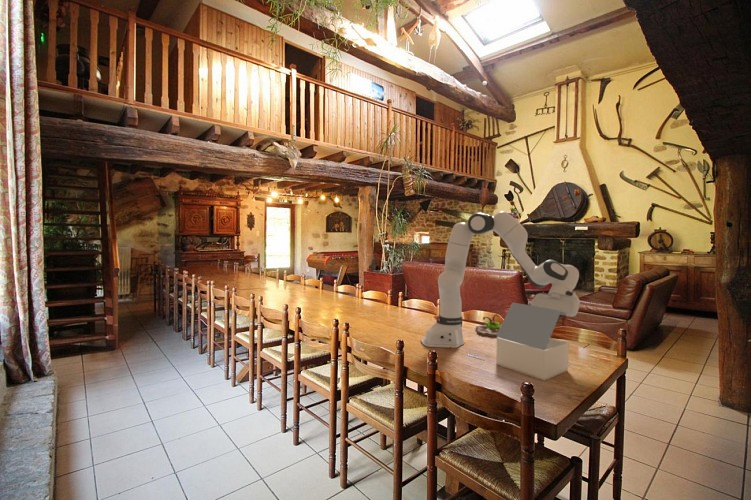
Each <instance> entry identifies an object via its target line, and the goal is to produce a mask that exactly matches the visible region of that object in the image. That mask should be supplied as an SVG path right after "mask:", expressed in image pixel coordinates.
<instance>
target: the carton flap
mask: <svg viewBox="0 0 751 500" xmlns="http://www.w3.org/2000/svg"><path fill="white" fill-rule="evenodd" d="M560 313H561V311H559V310H553V309H547V308H542V307H536V306H531V304H530V305H529V304H525V303H524V304H523V303H517V302H513V301H512V303H511V304H510V307H509V309H508V311H507V313H506V315H505V316H504V319H503V322H502V325H501V324H500V325H501V327H500V329H499V332H498V334H497V336H496V337H495V338H497V337H499V338H502V339H506V340H510V341H513V342H517V343H520V344H524V345H528V346H531V347H535V348H538V349H542V350H545V349H546V346H547V344H548V342H549V339H550V338H552V337H551V336H552V334H553V332H554V330H555V328H556V325H557V323H558V320H559V318H560Z"/></svg>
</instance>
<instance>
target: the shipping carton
mask: <svg viewBox="0 0 751 500" xmlns="http://www.w3.org/2000/svg"><path fill="white" fill-rule="evenodd" d="M569 350H570V342H568V341H564V340H560V339H556V338H552V337H550V339H549V342H548V344H547V346H546V349H545V350H542V349H538V348H535V347H531V346H528V345H524V344H520V343H517V342H513V341H510V340H506V339H502V338H499V337H496V366H500V367H503V368H506V369H508V370H511V371H514V372H517V373H520V374H522V375H526V376H529V377H532V378H533V379H537V380H540V381H543V382H545V381H548V380H550V379H552V378H555V377H556V376H559V375H561V374H564V373H566V372H568V371H569V370H568V368H569V367H568V366H569V365H568V364H569V358H570V357H569V354H570V353H569Z"/></svg>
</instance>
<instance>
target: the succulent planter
mask: <svg viewBox="0 0 751 500" xmlns="http://www.w3.org/2000/svg"><path fill="white" fill-rule="evenodd" d="M495 317H496V318H500V315H499V314H494V315H493V316H492V319H491V318H490V317H489V316H483V318H482V320H486V319H488V320H489V321H487V320H486V323H484V324H481V325H476V326H475V331H476V334H477V335H478V336H481V337H487V338H497V337H496V336H497V334H498V332H499V329H500V327H501V325H502V324H500V322H499V321H495Z"/></svg>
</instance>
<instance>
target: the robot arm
mask: <svg viewBox="0 0 751 500" xmlns="http://www.w3.org/2000/svg"><path fill="white" fill-rule="evenodd" d="M467 220H468V221H467V222H457V223H455V224H454V225H453V227H452V229H451V233H450V235H449V238H448V242H447V245H446V246H447V247H446V251H445V259H444V260H445V261H444V268H443V271H442V272H441V273H440V274H439V276H438V278H437V284H438V285H437V286H438V293H439V296H438V297H439V315H436V314H435V315H434V316H433V318H434V320H436V322H435V323H433V324H432V325H431V326H430V327H428V328H427V329H426V331H425V336H424V337H422V338H421V339H420V341H421V343H422V344H423V345H424V346H425V347H427V348H450V347H451V349H452V348H454V349H457V348H459V347H460V346H462V345H463V346H464V344H465V340H464V337H463V336H464V335H463V328H462V327H463V316H462V296H461V286H462V284H463V282H464V278H465V272H466V265H467V259H468V255H469V250H470V246H471V243H472V239H473V237H474V236H476V235H480V236H481V235H486V234H487V233H489V232H490V231H493V232H495V233H496V234H497V235H498V236H499V237H500V239H502V240H503V241H504V243H505V244H506V246H507V247H508V250H509V252H510V255H511V256H512V257H513V259H515V261H516V262H517V264H518V265H519V266H520V267H521V269H522V270H523V271H524V273H525V275H526V278H527V279H528V281H529V283H530V284H531V285H533V287H535V288H539V289H542V288H543V289H544V288H545V287H547V286H548V285H549V284H551V285H552V286H551V287H550V289H549V291H548V292H547V293H546V292H539V293H536V295H535V296H534V297H533V299H532V300H531V301H530V306H536V307H542V308H547V309H553V310H559V311H561V313H560V315H561V316H565V317H566V316H567V317H571V318H574V317H576V316H577V315H578V312H579V310H580V306H579V305H580V304H581V301H580V298H579V296H578V295H577V294H576V293H575V292H573V291H574V290H575V288H576V286H577V284H578V281H579V278H580V272H579V269H578V268H577V267H575V266H574V265H572V264H562V263H559V262H558V261H557V260H554V259H548V260H546V261H544V262H542V263H540V264H539V265H536V264H535V263H534V261H533V260H532V258H531V257H530V256H529V255H528V254H527V251H526V245H527V241H528V237H529V235H528V234H529V233H528V232H527V230H526V228H525V227H524V226H523V225H522V224H521V223H520V222H519V221H518V220H517V219H516V218H515V217H513V215H510V213H508V212H507V211H505V210H501V211H498V212H496V213H495V214H493V215H490V214H488V213H485V212H475V213H472V215H470V217H468V219H467ZM560 315H559V316H560Z"/></svg>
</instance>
